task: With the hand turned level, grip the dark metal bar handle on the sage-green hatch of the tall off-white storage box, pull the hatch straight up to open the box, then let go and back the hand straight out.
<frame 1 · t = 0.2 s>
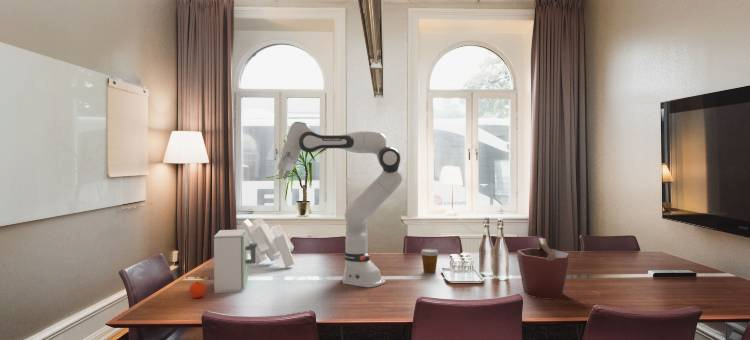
hand: (282, 178, 219), 52 cm above the table, tool tilted 20°, fingers open, 8 cm apart
pile of blocks: (263, 265, 252), on the table
clementine: (198, 297, 192), on the table
hatch: (250, 258, 210), point 13 cm above the table, slide at 0.0 cm
disposable coffee cup: (429, 272, 236), on the table
bucket: (541, 293, 198), on the table
storage box: (230, 286, 208), on the table
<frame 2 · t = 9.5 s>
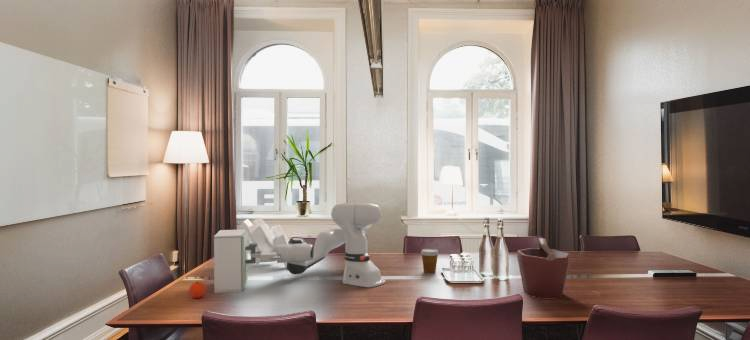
hand: (251, 254, 210), 15 cm above the table, tool horizontal, fingers closed on hatch, 2 cm apart
hatch: (250, 258, 210), point 13 cm above the table, slide at 0.0 cm, touching gripper
everything else where it was.
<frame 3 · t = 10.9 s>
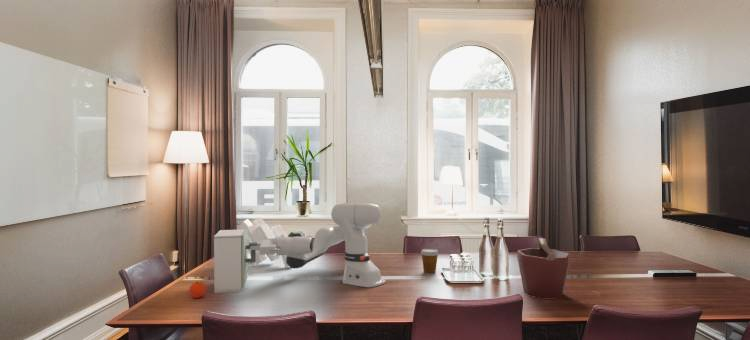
hand: (250, 247, 210), 19 cm above the table, tool horizontal, fingers closed on hatch, 2 cm apart
hatch: (250, 257, 210), point 14 cm above the table, slide at 0.5 cm, touching gripper
everything else where it was.
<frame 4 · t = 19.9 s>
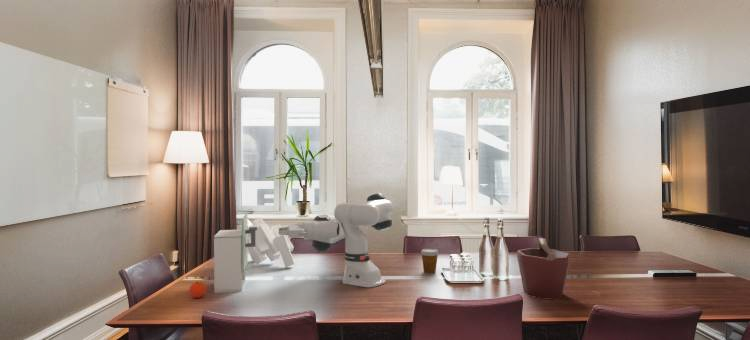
hand: (278, 231, 213), 26 cm above the table, tool horizontal, fingers open, 8 cm apart
hatch: (250, 241, 210), point 21 cm above the table, slide at 8.0 cm
everything else where it was.
at the end: hatch slide at 8.0 cm; the gripper is holding nothing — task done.
